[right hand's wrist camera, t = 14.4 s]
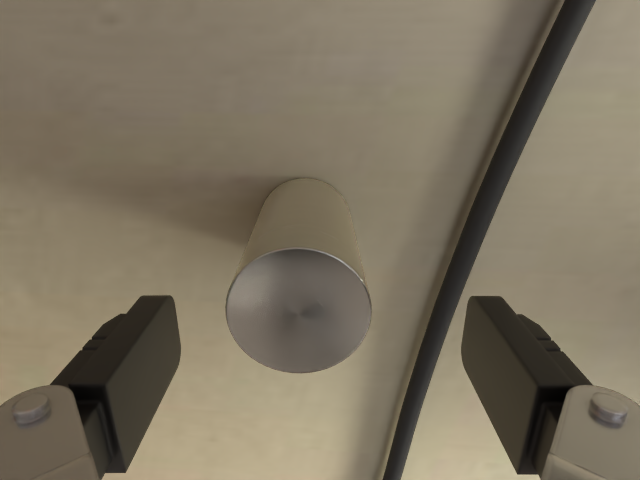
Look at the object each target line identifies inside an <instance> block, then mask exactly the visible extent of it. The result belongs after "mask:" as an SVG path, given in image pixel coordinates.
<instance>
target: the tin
mask: <svg viewBox="0 0 640 480" xmlns="http://www.w3.org/2000/svg"><path fill="white" fill-rule="evenodd" d="M225 309H226V319H227V324H228V326H229V329H230V332H231V334H232V336H233V338H234V339H235V341H236V342H237V344H238V345H239V346H240V347H241V349H242V350H243V351H244V352H245V353H246V354H248V355H249V356H250V357H251V358H253V359H254V360H256V361H257V362H259V363H261V364H263V365H265V366H267V367H270V368H272V369H275V370H279V371H283V372H290V373H310V372H316V371H320V370H324V369H327V368H329V367H332V366H334V365H336V364H338V363H340V362H342V361H343V360H344V359H346V358H347V357H349V356H350V355H351V354H352V353H353V352H354V351H355V350H356V349H357V348H358V346H359V345H360V344H361V342H362V341H363V339H364V338H365V336H366V333H367V331H368V329H369V325H370V321H371V314H372V309H371V300H370V295H369V291H368V287H367V282H366V278H365V274H364V270H363V266H362V261H361V257H360V253H359V249H358V244H357V240H356V236H355V232H354V228H353V223H352V219H351V215H350V211H349V208H348V205H347V203H346V201H345V199H344V198H343V197H342V195H341V194H340V193H339V192H338V191H337V190H336V189H335V188H334V187H332V186H331V185H329V184H327V183H325V182H323V181H320V180H317V179H311V178H298V179H293V180H290V181H287V182H285V183H283V184H281V185H280V186H278V187H277V188H275V189H274V190H273V191H272V192H271V193H270V195H269V196H268V197H267V199H266V200H265V202H264V204H263V207H262V209H261V212H260V214H259V216H258V219H257V221H256V224H255V226H254V229H253V231H252V234H251V236H250V239H249V241H248V244H247V246H246V249H245V251H244V253H243V256H242V258H241V261H240V263H239V266H238V268H237V271H236V273H235V276H234V278H233V281H232V283H231V286H230V288H229V291H228V294H227V298H226V306H225Z"/></svg>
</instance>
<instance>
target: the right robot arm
mask: <svg viewBox="0 0 640 480" xmlns="http://www.w3.org/2000/svg"><path fill="white" fill-rule="evenodd" d="M595 1H596V0H565V2H564V4H563V6H562V8H561V10H560V12H559V14H558V16H557V18H556V21H555V23H554V25H553V27H552V29H551V31H550V33H549V35H548V37H547V39H546V42H545V44H544V46H543V48H542V50H541V52H540V54H539V56H538V59H537V61H536V63H535V65H534V67H533V69H532V71H531V74H530V76H529V78H528V80H527V82H526V84H525V87H524V89H523V91H522V93H521V95H520V98H519V100H518V102H517V104H516V106H515V109H514V111H513V113H512V115H511V117H510V120H509V122H508V124H507V126H506V129H505V131H504V133H503V135H502V138H501V140H500V142H499V144H498V147H497V149H496V151H495V154H494V156H493V158H492V160H491V163H490V165H489V167H488V170H487V172H486V174H485V177H484V179H483V182H482V184H481V186H480V189H479V191H478V194H477V196H476V199H475V201H474V203H473V206H472V208H471V211H470V213H469V216H468V218H467V221H466V224H465V226H464V229H463V231H462V234H461V236H460V239H459V241H458V244H457V247H456V249H455V252H454V254H453V257H452V260H451V262H450V265H449V268H448V270H447V273H446V276H445V278H444V281H443V284H442V286H441V289H440V292H439V295H438V297H437V300H436V303H435V306H434V309H433V311H432V314H431V317H430V320H429V323H428V326H427V329H426V332H425V335H424V338H423V341H422V344H421V347H420V350H419V354H418V357H417V360H416V363H415V366H414V369H413V373H412V376H411V379H410V382H409V385H408V389H407V392H406V395H405V399H404V402H403V406H402V409H401V413H400V416H399V420H398V424H397V428H396V431H395V435H394V439H393V443H392V447H391V451H390V454H389V458H388V462H387V466H386V469H385V473H384V477H383V480H401V476H402V473H403V469H404V466H405V462H406V459H407V455H408V452H409V448H410V445H411V441H412V438H413V434H414V431H415V427H416V424H417V421H418V417H419V414H420V411H421V408H422V404H423V401H424V398H425V395H426V392H427V389H428V386H429V383H430V380H431V377H432V374H433V371H434V368H435V365H436V362H437V359H438V357H439V354H440V351H441V348H442V345H443V342H444V339H445V337H446V334H447V331H448V328H449V326H450V323H451V320H452V317H453V315H454V312H455V309H456V307H457V304H458V302H459V299H460V296H461V294H462V291H463V289H464V286H465V284H466V281H467V279H468V276H469V274H470V271H471V269H472V266H473V264H474V261H475V259H476V256H477V254H478V252H479V249H480V247H481V244H482V242H483V239H484V237H485V235H486V232H487V230H488V227H489V225H490V223H491V220H492V218H493V216H494V213H495V211H496V209H497V206H498V204H499V202H500V199H501V197H502V195H503V192H504V190H505V188H506V186H507V183H508V181H509V179H510V177H511V175H512V172H513V170H514V168H515V166H516V164H517V161H518V159H519V157H520V155H521V153H522V151H523V148H524V146H525V144H526V142H527V140H528V138H529V136H530V133H531V131H532V129H533V127H534V125H535V123H536V121H537V119H538V117H539V114H540V112H541V110H542V108H543V106H544V104H545V102H546V100H547V98H548V96H549V94H550V92H551V89H552V87H553V85H554V83H555V81H556V79H557V77H558V75H559V73H560V71H561V69H562V67H563V65H564V63H565V61H566V59H567V57H568V55H569V53H570V51H571V49H572V47H573V45H574V43H575V41H576V39H577V37H578V35H579V33H580V31H581V29H582V27H583V25H584V23H585V21H586V19H587V17H588V15H589V13H590V11H591V9H592V7H593V5H594V3H595ZM461 354H462V361H463V365H464V368H465V370H466V372H467V374H468V376H469V378H470V380H471V382H472V384H473V386H474V388H475V390H476V392H477V394H478V396H479V398H480V400H481V402H482V404H483V406H484V408H485V410H486V412H487V414H488V416H489V418H490V420H491V422H492V424H493V426H494V428H495V430H496V433H497V435H498V437H499V439H500V441H501V443H502V445H503V447H504V449H505V451H506V453H507V455H508V457H509V459H510V461H511V463H512V465H513V467H514V469H515V471H516V473H517V474H538V475H539V477H540V478H541V480H640V406H639V405H638V404H637V403H635V402H634V401H632V400H631V399H629V398H627V397H626V396H624V395H622V394H620V393H618V392H615V391H613V390H610V389H607V388H603V387H599V386H593V385H592V384H591V382H590V381H589V380H588V379H587V378H586V377H585V376H584V375H583V373H582V372H581V371H580V370H579V369H578V368H577V367H576V366H575V365H574V363H573V362H572V361H571V360H570V359H569V358H568V357H567V356H566V354H565V353H564V352H563V351H560V348H559V347H558V345H557V344H556V343H555V342H554V341H551V338H550V336H549V335H548V334H547V333H546V332H545V331H544V330H543V329H542V328H541V326H540V325H538V324H537V323H535V322H533V321H532V320H530V319H528V318H527V317H525V316H524V315H522V314H516V313H515V312H514V311H513V310H512V309H511V307H510V306H509V305H508V304H507V303H506V301H505V300H504V299H503V298H502V297H500V296H471V297H470V299H469V301H468V304H467V311H466V318H465V325H464V331H463V338H462V346H461ZM180 355H181V344H180V337H179V330H178V323H177V316H176V309H175V302H174V299H173V297H172V296H141V297H140V298H139V299H138V300H137V301H136V303H135V304H134V305H133V306H132V307H131V309H130V310H129V311H128V312H127V313H126V314H119V315H118V316H116V317H114V318H113V319H111V320H110V321H108V322H106V323H105V324H103V325H102V326H101V328H100V329H99V330H98V331H97V332H96V333H95V334H94V335H93V337H92V340H89V341H88V342H87V343H86V344H85V346H84V347H83V350H80V351H79V352H78V354H77V355H76V356H75V357H74V358H73V359H72V360H71V361H70V363H69V364H68V365H67V366H66V367H65V368H64V369H63V370H62V372H61V373H60V374H59V375H58V376H57V377H56V378H55V380H54V381H53V382H52V383H51V384H50V385H47V386H41V387H37V388H33V389H30V390H27V391H25V392H22V393H20V394H18V395H16V396H14V397H13V398H11V399H9V400H8V401H6V402H5V403H3V404H2V405H1V406H0V480H101V479H102V478H103V476H104V474H105V473H126V471H127V469H128V467H129V465H130V463H131V461H132V459H133V457H134V455H135V453H136V451H137V449H138V447H139V445H140V443H141V441H142V439H143V437H144V435H145V433H146V431H147V429H148V427H149V425H150V423H151V421H152V419H153V417H154V415H155V413H156V411H157V408H158V406H159V404H160V402H161V400H162V398H163V396H164V394H165V392H166V390H167V388H168V386H169V384H170V382H171V380H172V378H173V376H174V374H175V372H176V370H177V368H178V365H179V361H180Z"/></svg>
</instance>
